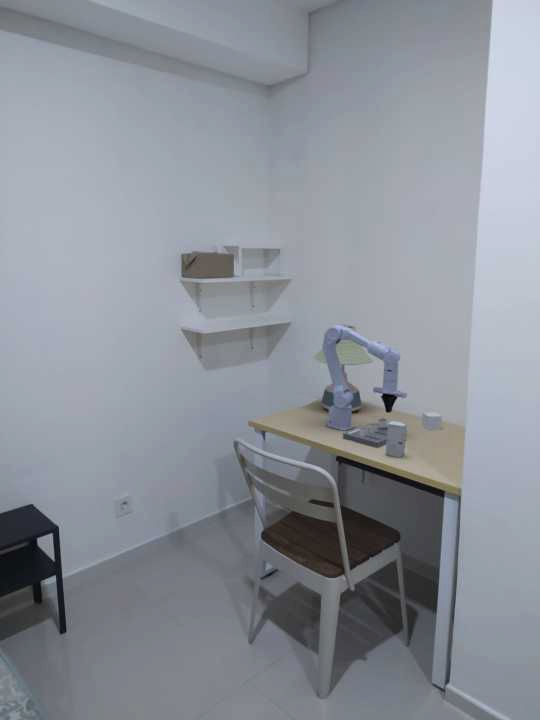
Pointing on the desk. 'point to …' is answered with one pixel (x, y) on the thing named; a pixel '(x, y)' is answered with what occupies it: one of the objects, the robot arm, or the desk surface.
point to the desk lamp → (347, 356)
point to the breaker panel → (368, 435)
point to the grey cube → (432, 421)
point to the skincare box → (396, 439)
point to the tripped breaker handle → (382, 423)
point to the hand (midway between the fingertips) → (388, 412)
